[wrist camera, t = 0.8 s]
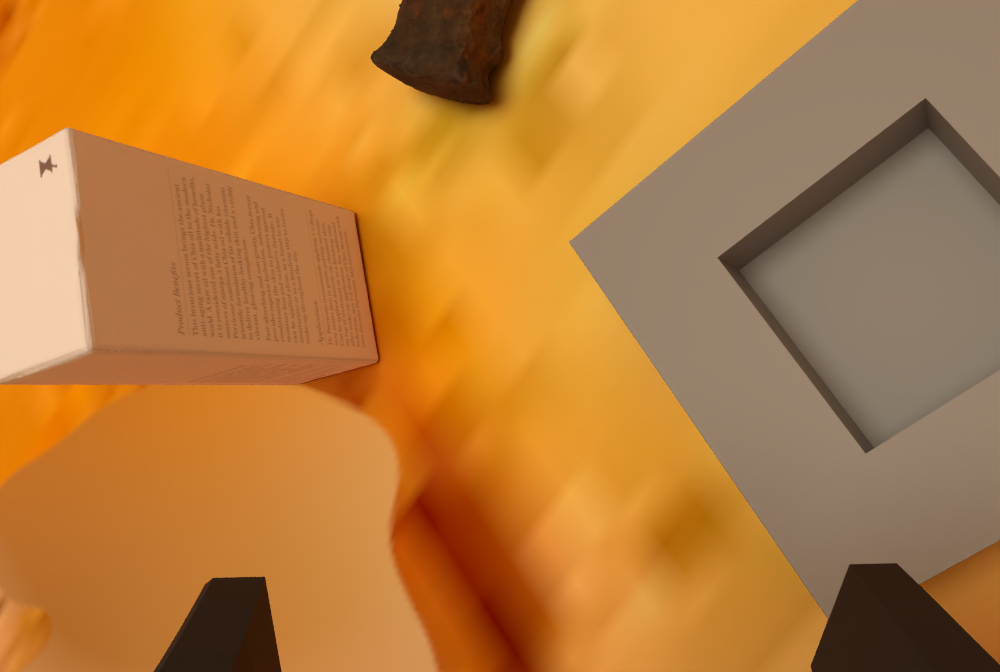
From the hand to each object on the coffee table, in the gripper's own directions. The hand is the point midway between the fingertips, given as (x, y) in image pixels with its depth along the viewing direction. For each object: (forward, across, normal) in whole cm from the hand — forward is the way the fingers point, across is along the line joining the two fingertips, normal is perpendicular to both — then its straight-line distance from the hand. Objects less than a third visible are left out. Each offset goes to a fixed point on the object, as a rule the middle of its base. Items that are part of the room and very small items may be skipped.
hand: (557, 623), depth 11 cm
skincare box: (+22, +6, +8) cm, 24 cm away
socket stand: (+12, -11, +2) cm, 17 cm away
